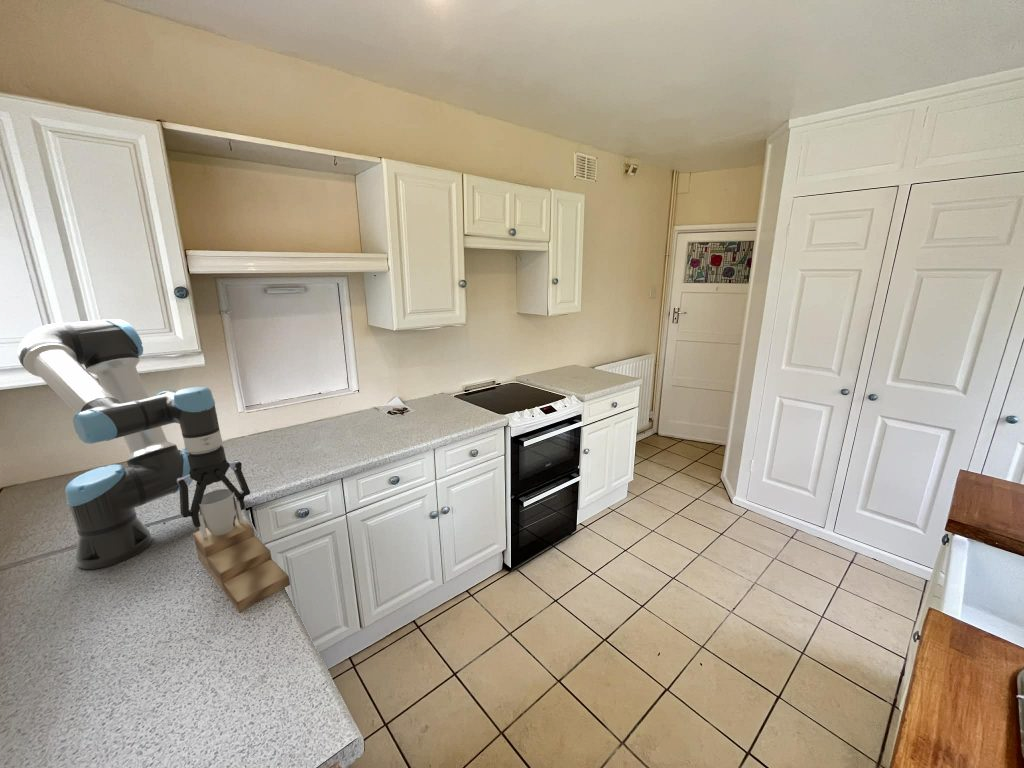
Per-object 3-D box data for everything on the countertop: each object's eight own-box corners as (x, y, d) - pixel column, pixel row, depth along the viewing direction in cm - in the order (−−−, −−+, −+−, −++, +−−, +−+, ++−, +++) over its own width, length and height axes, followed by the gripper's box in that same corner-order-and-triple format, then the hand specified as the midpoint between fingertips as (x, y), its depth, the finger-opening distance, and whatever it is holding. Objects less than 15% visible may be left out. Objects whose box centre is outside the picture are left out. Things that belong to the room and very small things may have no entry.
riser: (239, 612, 92) (232, 583, 90) (198, 558, 111) (192, 533, 109) (290, 584, 100) (285, 557, 99) (244, 538, 119) (239, 514, 117)
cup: (245, 528, 111) (238, 494, 108) (209, 543, 105) (201, 508, 102) (234, 518, 116) (227, 485, 113) (200, 531, 110) (192, 497, 107)
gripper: (156, 466, 94) (179, 553, 100) (255, 439, 109) (269, 516, 115) (149, 458, 99) (171, 541, 105) (244, 433, 114) (259, 507, 120)
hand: (222, 528), depth 110 cm, fingers closed on cup, 7 cm apart
